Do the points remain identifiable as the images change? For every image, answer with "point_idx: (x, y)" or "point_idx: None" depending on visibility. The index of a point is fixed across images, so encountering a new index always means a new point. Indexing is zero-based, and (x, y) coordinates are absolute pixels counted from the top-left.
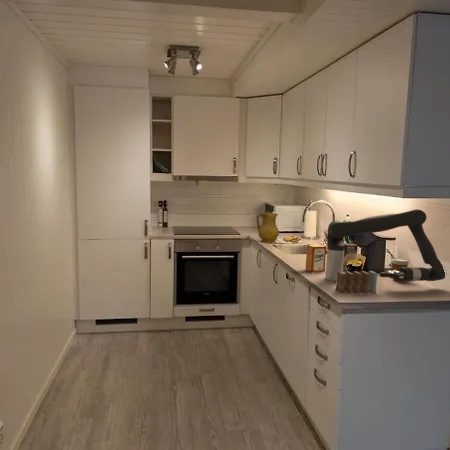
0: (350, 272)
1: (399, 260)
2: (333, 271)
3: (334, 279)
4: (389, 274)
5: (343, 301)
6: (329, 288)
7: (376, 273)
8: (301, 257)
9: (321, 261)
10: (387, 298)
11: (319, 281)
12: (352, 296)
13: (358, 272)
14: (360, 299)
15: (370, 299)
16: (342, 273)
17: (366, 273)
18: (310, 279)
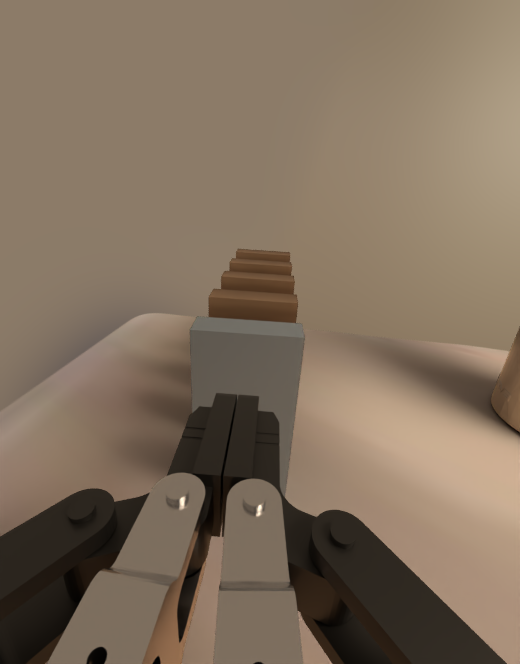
0: (262, 264)
1: None
2: (513, 342)
3: (495, 394)
4: (145, 500)
5: (141, 315)
6: (320, 343)
7: (192, 327)
8: None
9: None
10: (13, 474)
11: (451, 357)
12: (178, 352)
13: (255, 278)
14: (122, 354)
15: (90, 381)
16: (247, 250)
17: (214, 289)
18: (478, 347)
